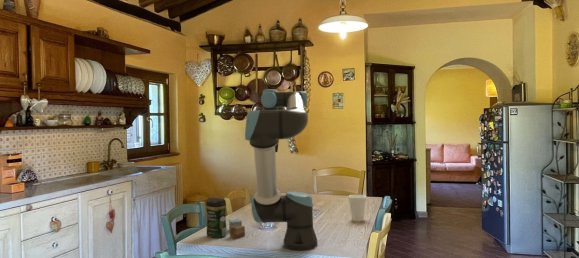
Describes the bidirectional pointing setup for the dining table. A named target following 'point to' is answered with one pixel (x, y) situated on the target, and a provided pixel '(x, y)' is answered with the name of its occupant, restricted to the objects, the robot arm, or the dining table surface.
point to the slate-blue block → (234, 223)
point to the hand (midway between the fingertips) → (271, 165)
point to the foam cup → (357, 207)
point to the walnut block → (237, 231)
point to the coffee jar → (216, 217)
